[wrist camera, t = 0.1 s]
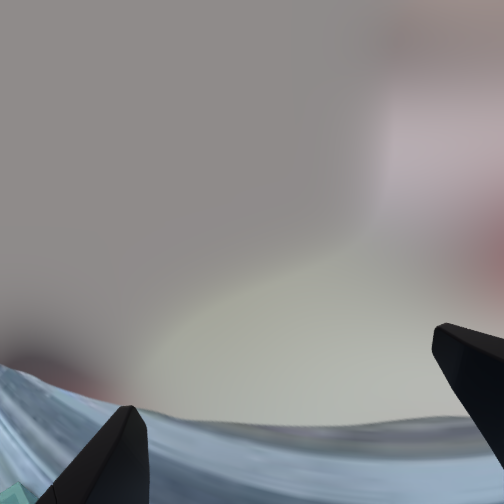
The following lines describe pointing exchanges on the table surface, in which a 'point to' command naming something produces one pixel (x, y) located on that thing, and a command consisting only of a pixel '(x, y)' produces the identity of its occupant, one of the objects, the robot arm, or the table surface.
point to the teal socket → (17, 495)
